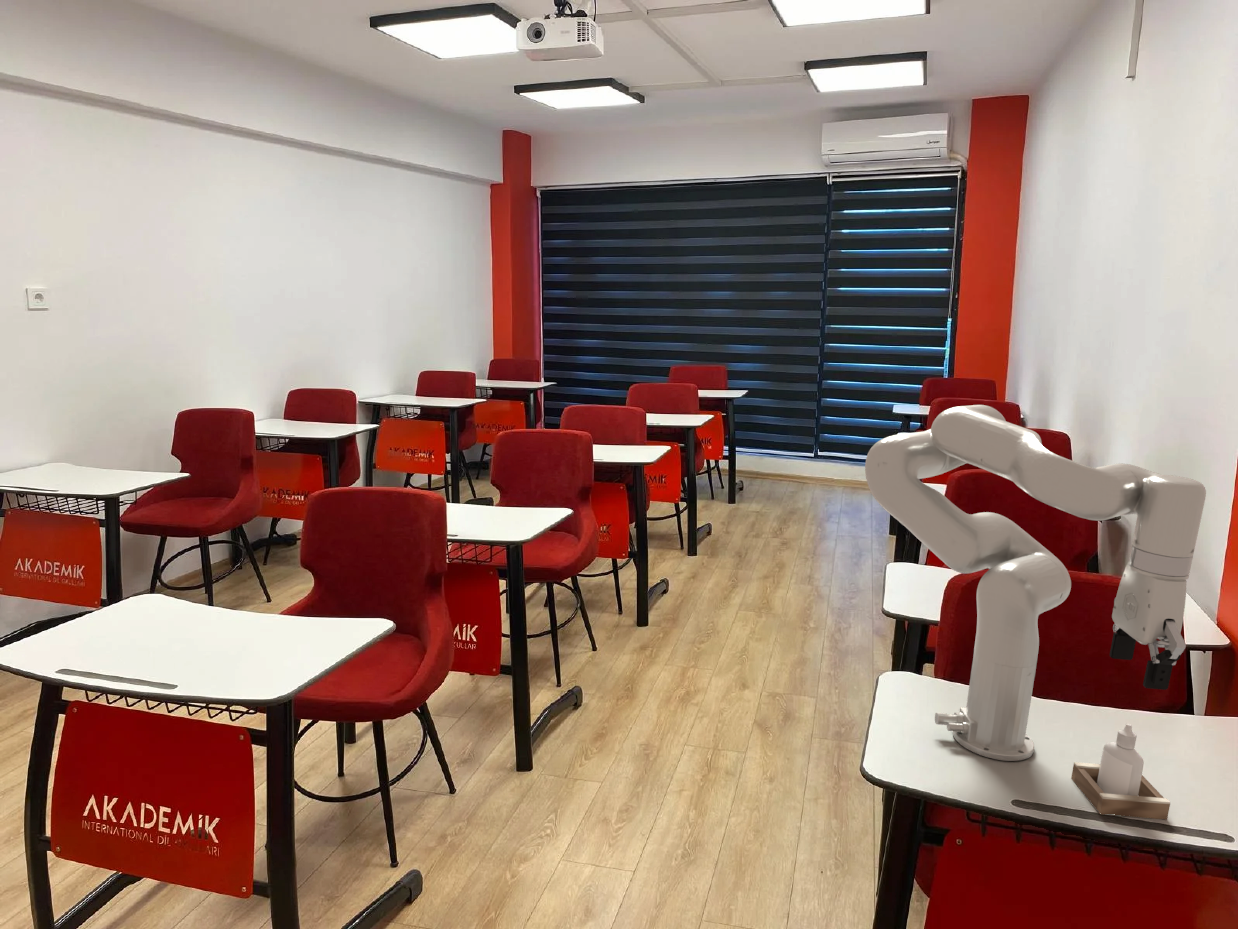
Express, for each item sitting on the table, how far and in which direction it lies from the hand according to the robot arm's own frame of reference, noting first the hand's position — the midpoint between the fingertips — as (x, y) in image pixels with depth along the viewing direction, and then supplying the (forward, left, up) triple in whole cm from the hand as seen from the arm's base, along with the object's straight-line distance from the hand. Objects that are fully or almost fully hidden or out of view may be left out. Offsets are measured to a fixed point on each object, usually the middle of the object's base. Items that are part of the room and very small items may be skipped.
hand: (1137, 672), depth 128 cm
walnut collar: (0, 0, -20) cm, 20 cm away
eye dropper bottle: (0, 0, -21) cm, 21 cm away
